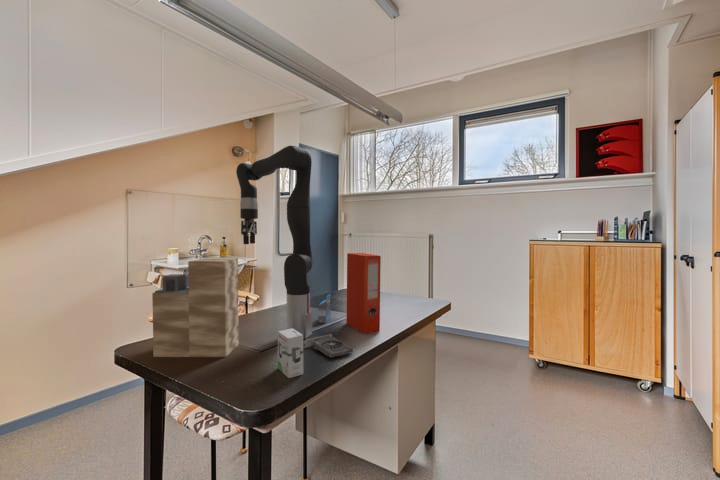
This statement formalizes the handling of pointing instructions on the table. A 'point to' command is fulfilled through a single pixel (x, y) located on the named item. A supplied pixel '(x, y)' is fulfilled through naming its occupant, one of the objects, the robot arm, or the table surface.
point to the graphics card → (329, 346)
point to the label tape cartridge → (324, 310)
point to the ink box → (290, 352)
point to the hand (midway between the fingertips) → (249, 243)
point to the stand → (199, 312)
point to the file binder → (363, 292)
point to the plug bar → (175, 282)
